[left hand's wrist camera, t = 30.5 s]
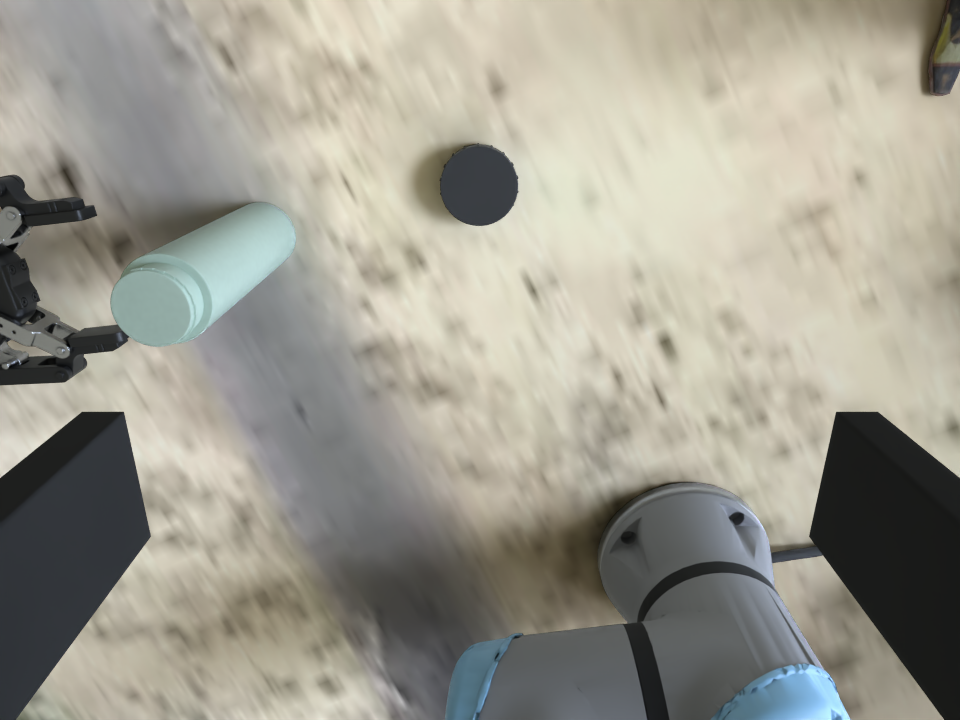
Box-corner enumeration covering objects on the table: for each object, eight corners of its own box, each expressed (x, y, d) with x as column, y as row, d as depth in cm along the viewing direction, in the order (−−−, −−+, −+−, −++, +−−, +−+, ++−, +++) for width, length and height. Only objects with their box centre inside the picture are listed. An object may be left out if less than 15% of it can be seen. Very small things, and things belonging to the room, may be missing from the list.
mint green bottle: (304, 259, 53) (214, 345, 35) (243, 272, 53) (124, 363, 35) (284, 195, 51) (179, 252, 33) (221, 209, 51) (84, 272, 33)
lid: (433, 152, 50) (431, 155, 48) (510, 136, 49) (511, 138, 47) (449, 228, 52) (448, 233, 50) (523, 213, 51) (525, 217, 49)
